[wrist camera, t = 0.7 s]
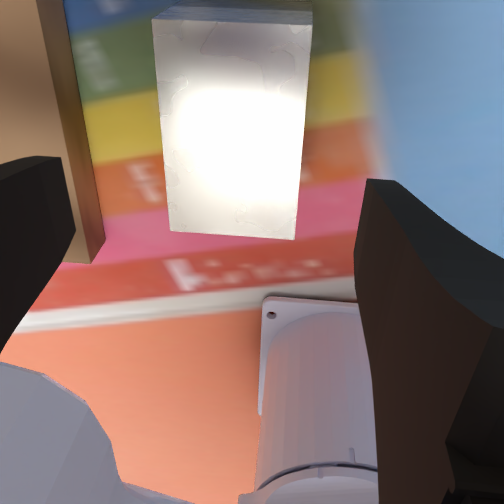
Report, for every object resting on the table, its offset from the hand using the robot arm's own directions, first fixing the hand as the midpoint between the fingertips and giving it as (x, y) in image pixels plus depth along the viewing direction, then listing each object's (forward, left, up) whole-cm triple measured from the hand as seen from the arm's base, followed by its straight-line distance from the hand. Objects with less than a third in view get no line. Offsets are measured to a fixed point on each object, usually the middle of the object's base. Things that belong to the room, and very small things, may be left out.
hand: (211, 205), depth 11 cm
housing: (0, 0, -10) cm, 10 cm away
